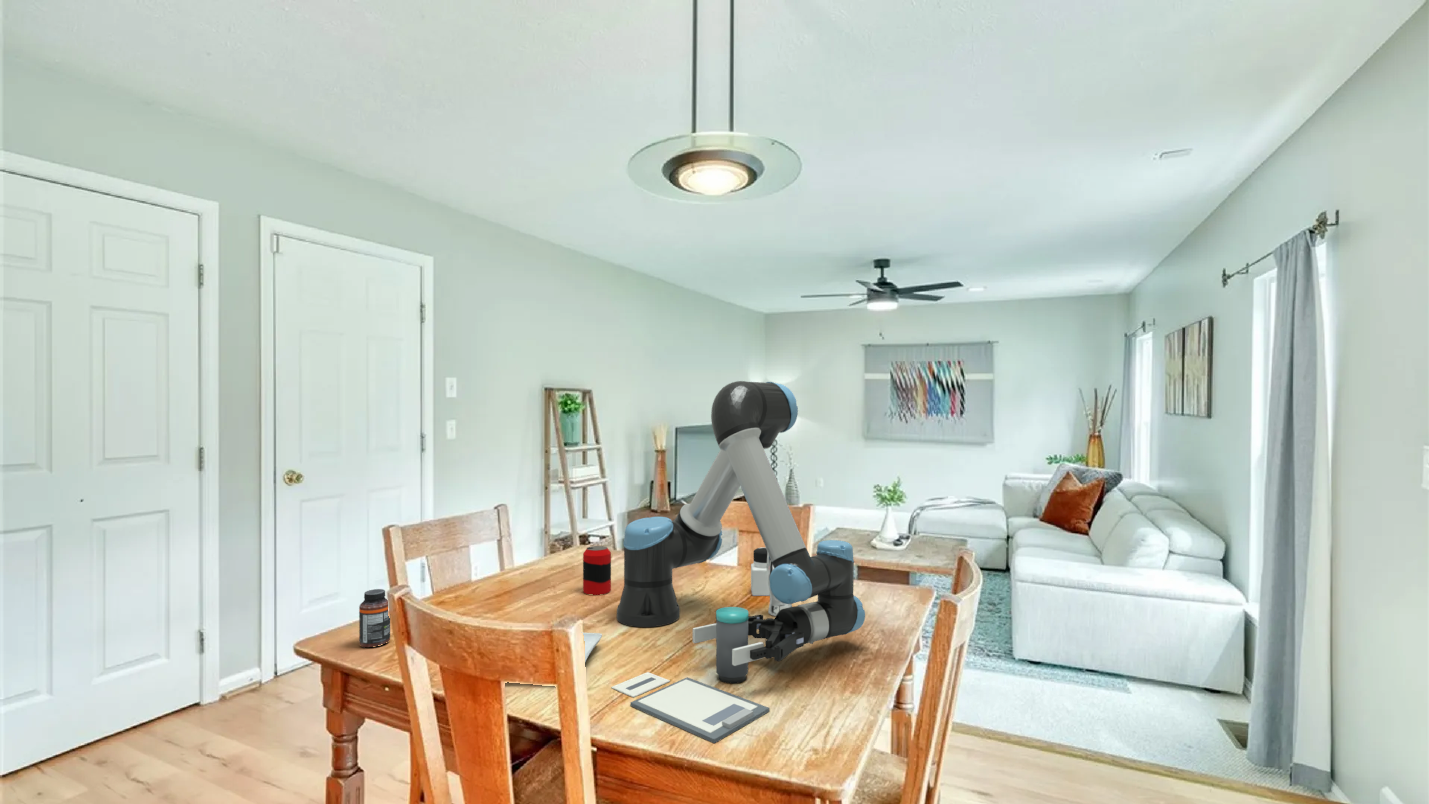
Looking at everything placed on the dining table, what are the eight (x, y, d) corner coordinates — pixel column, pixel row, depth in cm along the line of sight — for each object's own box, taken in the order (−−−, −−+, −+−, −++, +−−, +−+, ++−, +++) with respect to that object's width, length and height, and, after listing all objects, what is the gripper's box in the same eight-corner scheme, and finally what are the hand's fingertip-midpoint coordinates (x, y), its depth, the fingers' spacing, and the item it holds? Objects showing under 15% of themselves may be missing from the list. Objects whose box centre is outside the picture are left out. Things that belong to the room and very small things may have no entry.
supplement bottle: (363, 640, 144) (363, 588, 144) (393, 638, 146) (393, 586, 146) (355, 650, 139) (355, 596, 139) (386, 647, 140) (386, 594, 140)
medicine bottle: (778, 596, 178) (778, 551, 178) (752, 596, 178) (752, 551, 178) (776, 588, 185) (776, 545, 186) (750, 588, 186) (750, 545, 186)
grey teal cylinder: (709, 678, 124) (709, 612, 124) (730, 668, 129) (730, 604, 129) (734, 687, 120) (734, 619, 120) (755, 677, 125) (754, 611, 125)
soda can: (584, 588, 186) (584, 545, 186) (611, 587, 187) (611, 544, 187) (581, 596, 178) (581, 551, 178) (610, 595, 179) (610, 550, 179)
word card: (611, 688, 120) (611, 686, 120) (647, 673, 127) (647, 671, 127) (633, 697, 116) (633, 696, 116) (670, 681, 123) (670, 680, 123)
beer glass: (793, 618, 160) (793, 555, 160) (764, 616, 161) (764, 554, 161) (795, 609, 166) (795, 549, 167) (768, 607, 168) (768, 548, 168)
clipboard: (630, 705, 113) (630, 698, 113) (687, 680, 123) (687, 673, 123) (714, 743, 100) (714, 734, 100) (769, 711, 111) (769, 703, 111)
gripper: (844, 663, 124) (752, 690, 112) (762, 626, 144) (678, 646, 132) (844, 622, 124) (752, 645, 112) (762, 592, 144) (678, 608, 132)
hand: (712, 646), depth 122 cm, fingers open, 12 cm apart
